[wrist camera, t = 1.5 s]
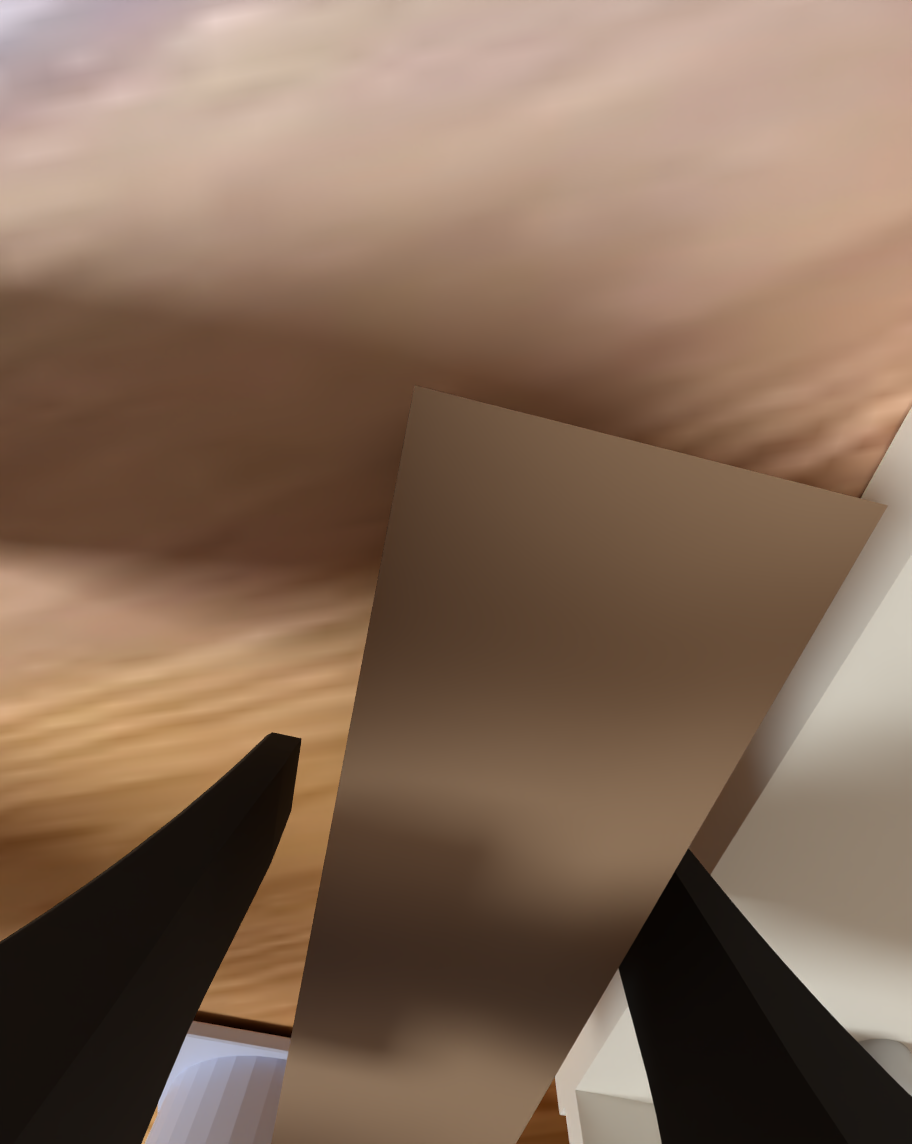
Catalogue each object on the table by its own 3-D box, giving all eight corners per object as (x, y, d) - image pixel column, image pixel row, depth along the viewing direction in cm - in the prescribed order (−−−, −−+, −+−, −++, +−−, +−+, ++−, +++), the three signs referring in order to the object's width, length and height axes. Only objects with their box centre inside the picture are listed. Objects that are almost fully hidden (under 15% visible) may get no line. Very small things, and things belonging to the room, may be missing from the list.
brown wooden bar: (468, 957, 14) (466, 1227, 10) (331, 931, 14) (261, 1195, 9) (665, 452, 9) (888, 505, 4) (446, 396, 9) (414, 384, 4)
